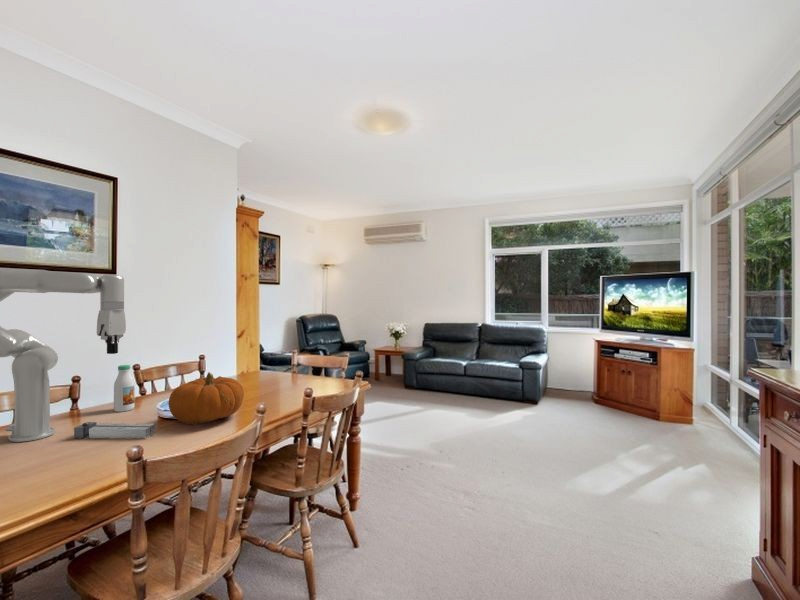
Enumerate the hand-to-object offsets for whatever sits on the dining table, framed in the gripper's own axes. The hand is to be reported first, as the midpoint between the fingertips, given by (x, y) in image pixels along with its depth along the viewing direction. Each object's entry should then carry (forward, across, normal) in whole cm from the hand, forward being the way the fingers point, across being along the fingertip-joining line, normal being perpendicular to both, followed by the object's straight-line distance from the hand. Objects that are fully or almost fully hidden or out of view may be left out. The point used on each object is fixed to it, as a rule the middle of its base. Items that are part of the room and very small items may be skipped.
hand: (112, 353), depth 155 cm
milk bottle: (+29, -24, -12) cm, 40 cm away
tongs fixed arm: (+29, +9, +8) cm, 31 cm away
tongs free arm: (+29, +8, +10) cm, 32 cm away
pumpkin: (+29, -11, +32) cm, 45 cm away
